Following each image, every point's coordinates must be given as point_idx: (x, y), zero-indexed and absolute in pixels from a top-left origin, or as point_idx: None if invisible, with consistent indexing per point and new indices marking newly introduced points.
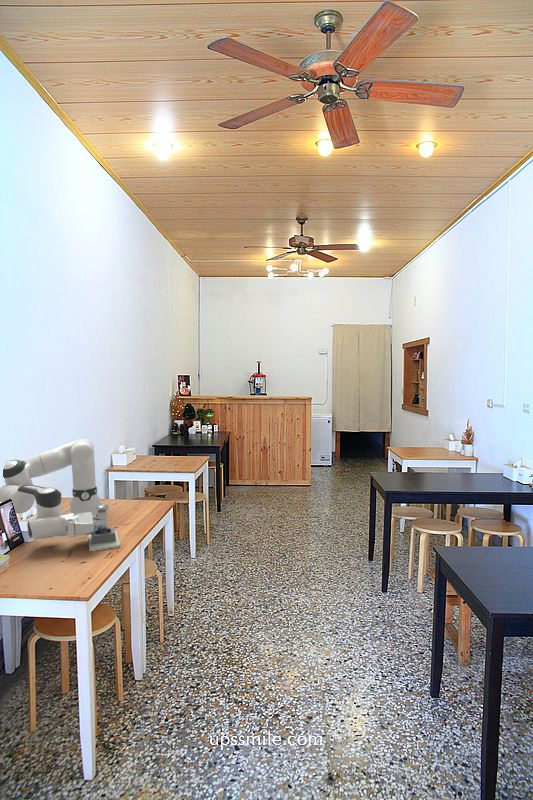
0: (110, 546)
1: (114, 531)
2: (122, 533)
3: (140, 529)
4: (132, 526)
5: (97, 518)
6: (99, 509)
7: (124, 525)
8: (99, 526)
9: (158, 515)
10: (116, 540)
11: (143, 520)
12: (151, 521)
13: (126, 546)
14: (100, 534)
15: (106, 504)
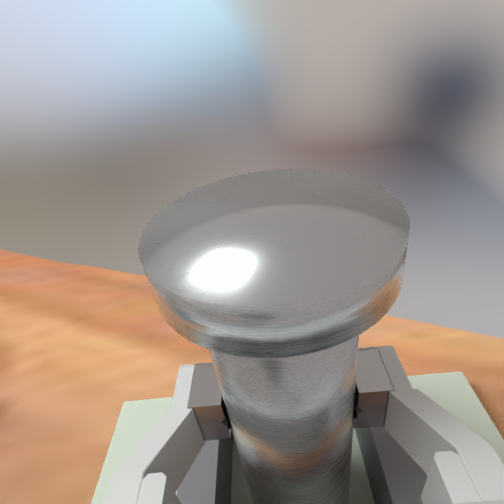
0: (501, 439)
1: None
2: (156, 376)
3: (152, 300)
4: (67, 331)
5: (306, 432)
6: (404, 259)
7: (4, 369)
8: (345, 466)
9: (14, 254)
10: None
11: (20, 293)
12: (69, 269)
13: (437, 351)
14: (406, 495)
15: (200, 189)
